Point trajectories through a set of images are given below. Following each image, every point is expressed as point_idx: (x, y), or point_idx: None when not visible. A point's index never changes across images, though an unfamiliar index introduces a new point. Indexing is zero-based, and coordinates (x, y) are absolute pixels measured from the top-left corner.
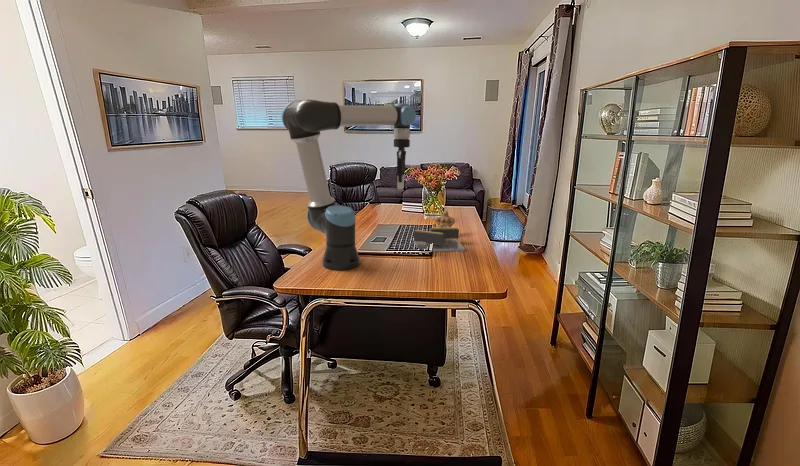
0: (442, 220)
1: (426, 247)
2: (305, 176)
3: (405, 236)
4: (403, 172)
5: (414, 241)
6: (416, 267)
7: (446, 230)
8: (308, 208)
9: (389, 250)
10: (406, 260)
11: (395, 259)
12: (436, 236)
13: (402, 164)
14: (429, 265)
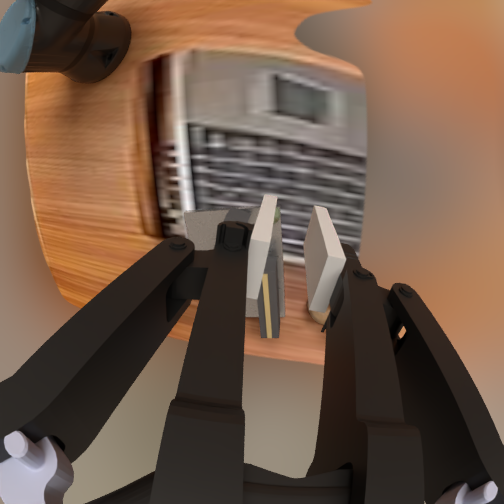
0: None
1: (200, 234)
2: None
3: (336, 187)
4: (327, 321)
5: (257, 207)
6: (94, 199)
7: (258, 309)
8: None
9: (188, 132)
10: (123, 178)
11: (126, 152)
12: None
13: (126, 377)
14: (108, 225)
